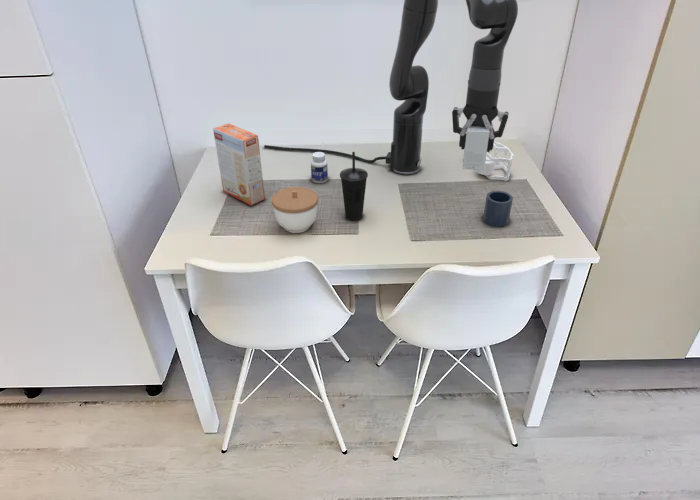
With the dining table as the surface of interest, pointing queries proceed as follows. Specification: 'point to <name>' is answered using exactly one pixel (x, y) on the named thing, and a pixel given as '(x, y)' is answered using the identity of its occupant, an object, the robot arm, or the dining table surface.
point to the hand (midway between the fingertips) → (475, 149)
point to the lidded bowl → (295, 208)
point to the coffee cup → (497, 208)
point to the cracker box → (239, 163)
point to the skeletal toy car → (497, 163)
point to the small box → (475, 148)
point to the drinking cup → (353, 191)
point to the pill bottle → (319, 168)
